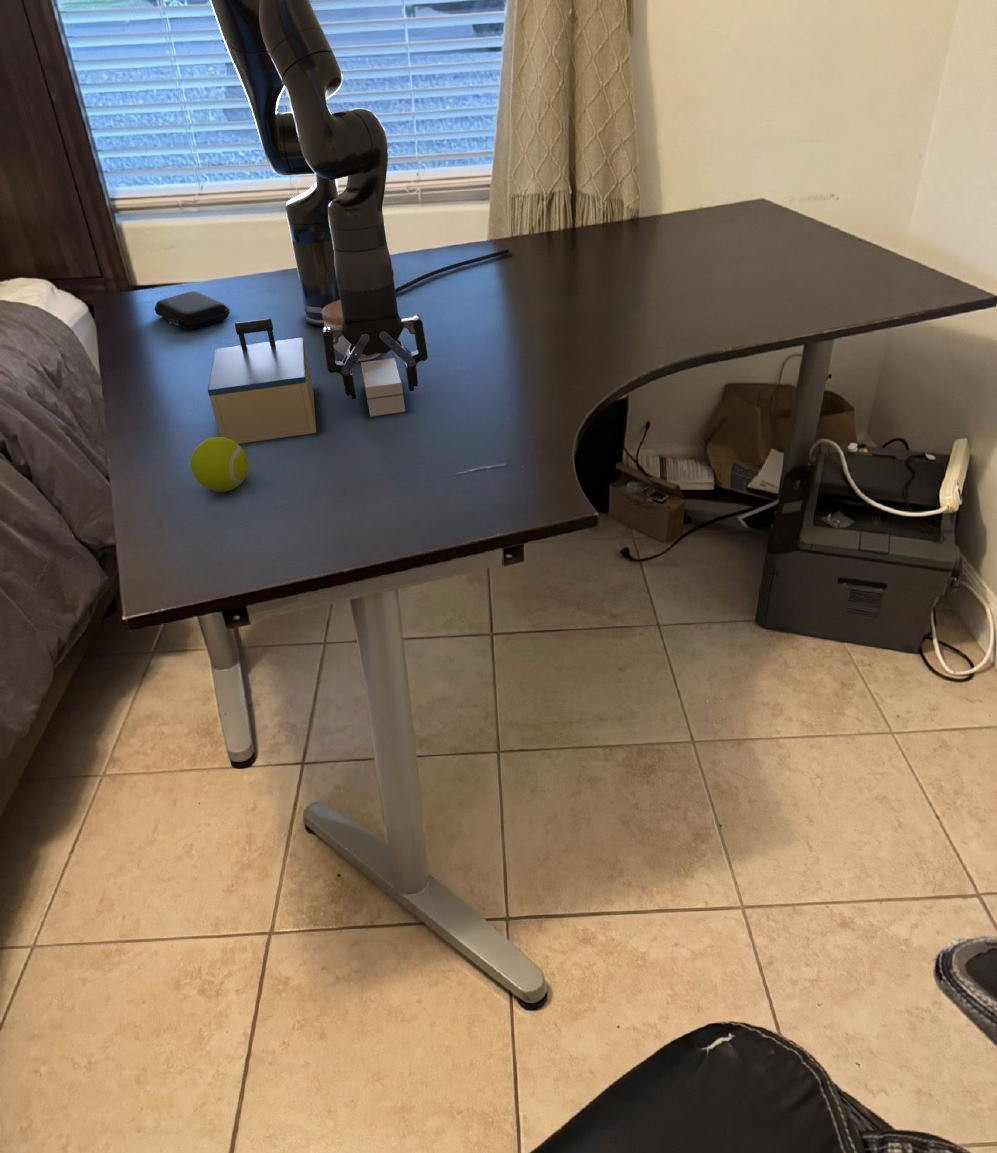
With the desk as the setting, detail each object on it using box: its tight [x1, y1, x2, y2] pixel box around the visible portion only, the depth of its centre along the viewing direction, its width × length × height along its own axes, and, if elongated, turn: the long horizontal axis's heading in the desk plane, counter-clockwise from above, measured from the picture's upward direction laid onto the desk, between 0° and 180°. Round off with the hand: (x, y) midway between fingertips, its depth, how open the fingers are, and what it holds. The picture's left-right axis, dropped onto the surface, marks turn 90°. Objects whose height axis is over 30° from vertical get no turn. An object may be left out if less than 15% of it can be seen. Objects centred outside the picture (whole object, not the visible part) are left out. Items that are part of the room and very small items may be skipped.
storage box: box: [208, 345, 317, 445], centre depth 122 cm, size 15×13×7 cm
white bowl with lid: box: [322, 300, 381, 362], centre depth 139 cm, size 11×11×9 cm
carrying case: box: [154, 290, 231, 330], centre depth 161 cm, size 11×3×15 cm
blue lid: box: [207, 318, 306, 396], centre depth 119 cm, size 15×13×5 cm
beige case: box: [360, 357, 406, 418], centre depth 125 cm, size 10×5×4 cm, turn 11°
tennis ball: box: [190, 436, 249, 493], centre depth 106 cm, size 7×7×7 cm
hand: (382, 393), depth 125 cm, fingers open, 8 cm apart
